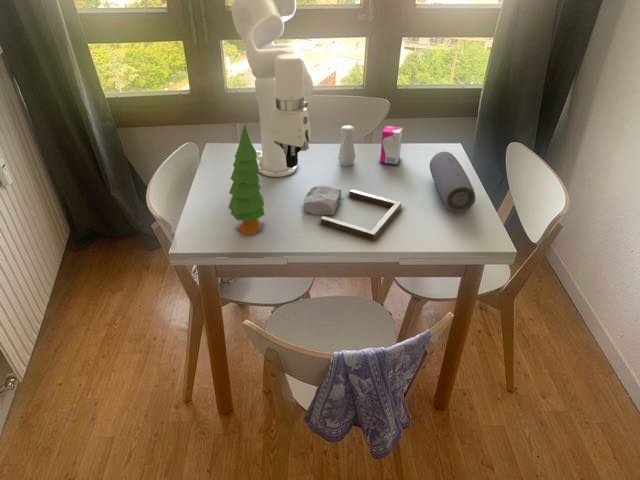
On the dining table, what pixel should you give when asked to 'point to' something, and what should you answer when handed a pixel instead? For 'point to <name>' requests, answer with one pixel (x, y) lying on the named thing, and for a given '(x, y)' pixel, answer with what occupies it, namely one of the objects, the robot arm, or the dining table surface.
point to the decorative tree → (246, 187)
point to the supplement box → (391, 145)
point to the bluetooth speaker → (452, 182)
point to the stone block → (322, 200)
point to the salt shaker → (347, 146)
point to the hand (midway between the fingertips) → (292, 166)
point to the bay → (361, 231)
